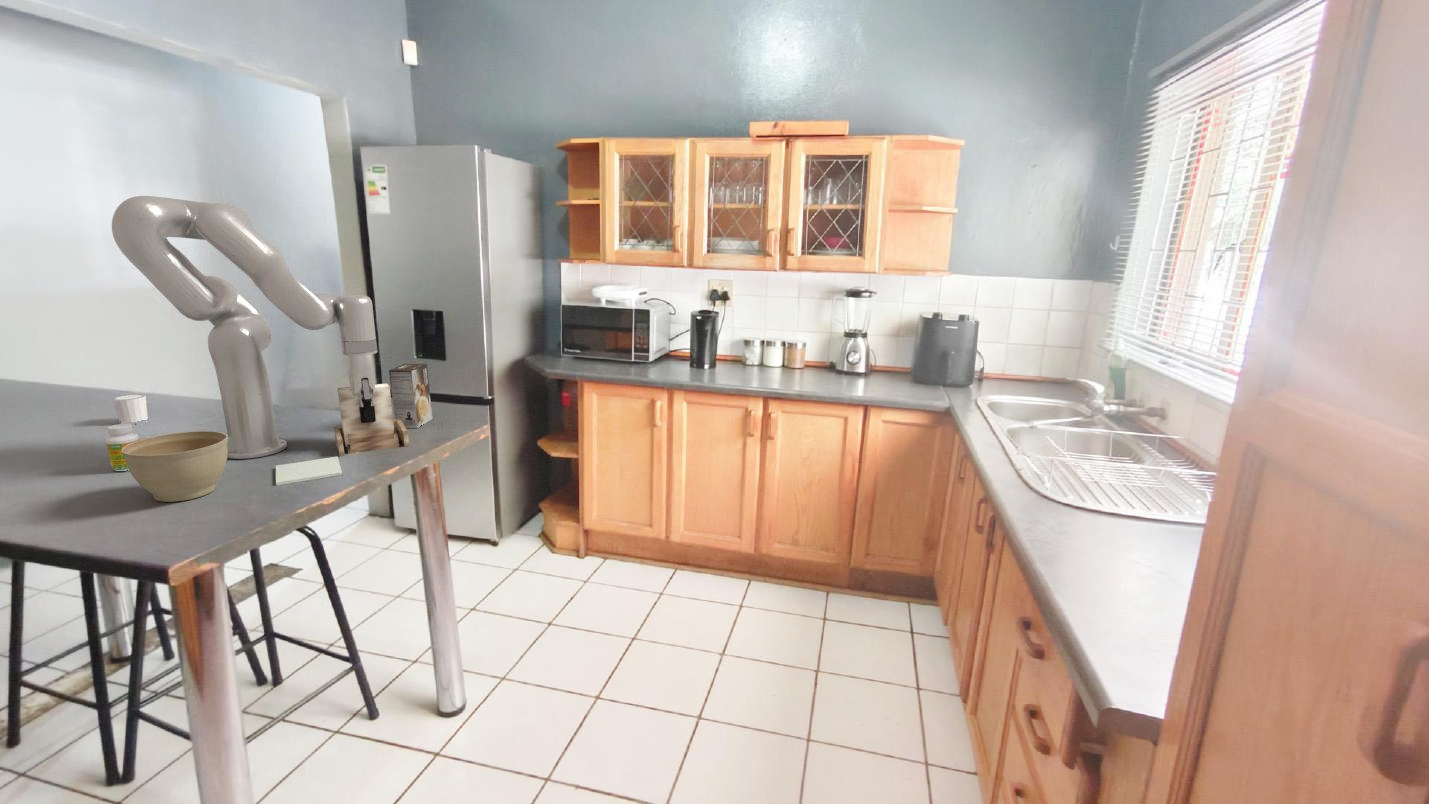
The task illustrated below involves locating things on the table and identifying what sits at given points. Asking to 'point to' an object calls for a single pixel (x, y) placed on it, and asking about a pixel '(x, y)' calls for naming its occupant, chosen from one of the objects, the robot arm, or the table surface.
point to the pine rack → (398, 429)
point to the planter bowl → (178, 463)
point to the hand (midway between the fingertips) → (367, 419)
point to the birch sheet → (352, 411)
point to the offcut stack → (372, 441)
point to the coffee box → (411, 394)
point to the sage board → (307, 470)
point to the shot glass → (131, 407)
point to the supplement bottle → (119, 444)
